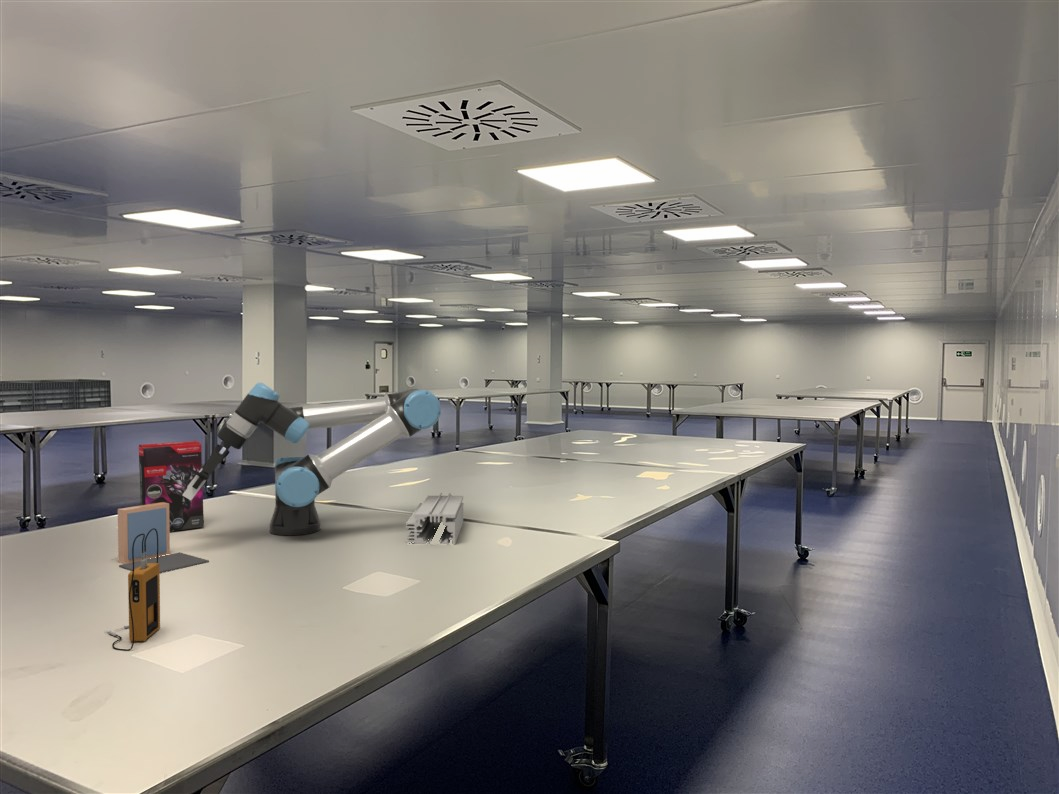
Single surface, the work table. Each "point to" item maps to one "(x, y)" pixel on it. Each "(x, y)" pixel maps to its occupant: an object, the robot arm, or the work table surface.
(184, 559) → the mat
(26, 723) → the work table surface
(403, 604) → the work table surface
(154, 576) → the multimeter
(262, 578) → the work table surface
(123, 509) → the tile
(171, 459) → the graphics card box
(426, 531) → the aluminum extrusion profile
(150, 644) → the work table surface
